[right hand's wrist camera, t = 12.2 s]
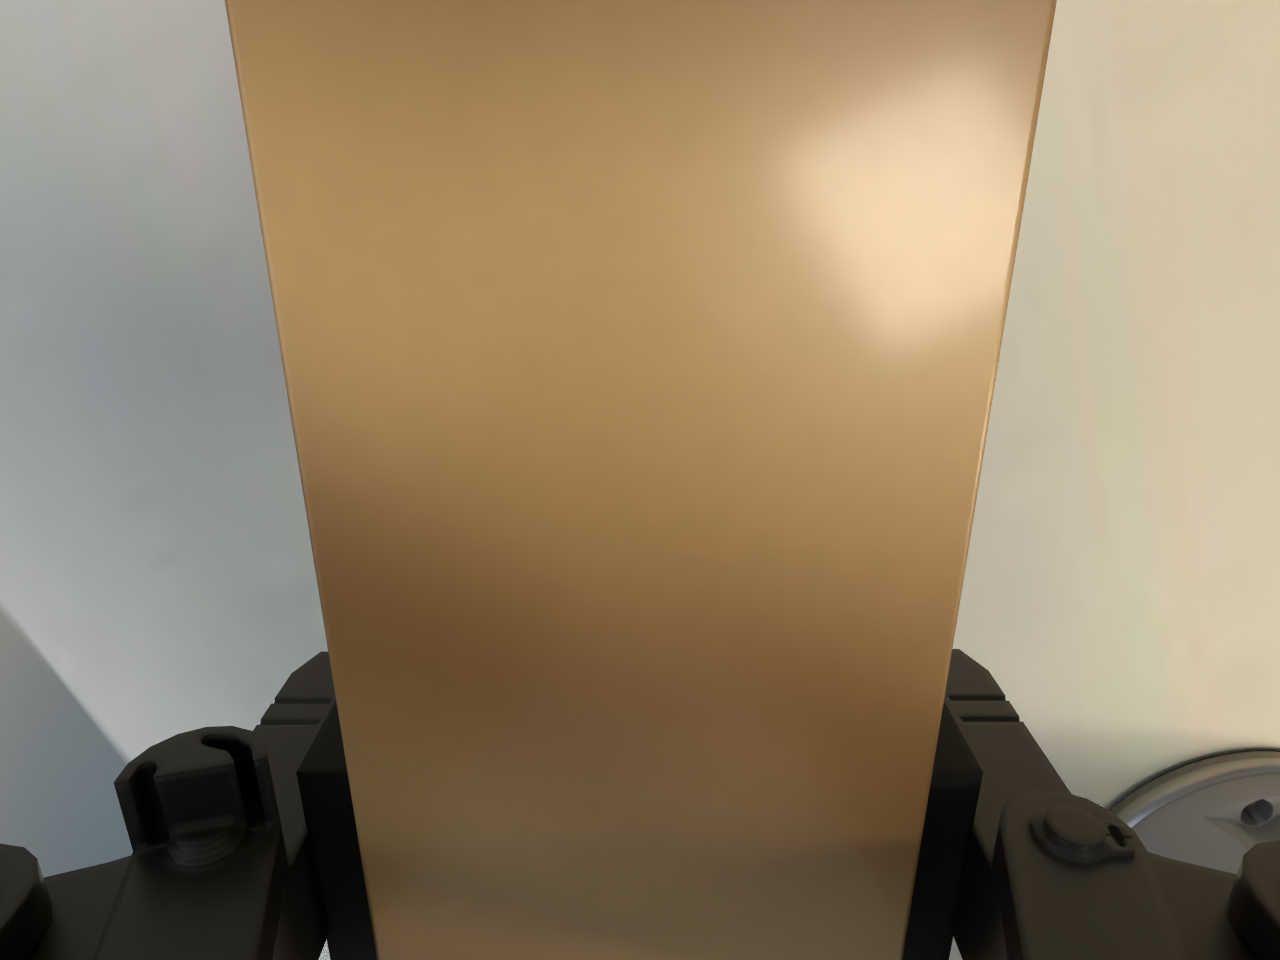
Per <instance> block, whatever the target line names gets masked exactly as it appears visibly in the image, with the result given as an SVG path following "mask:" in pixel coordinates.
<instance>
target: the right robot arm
mask: <svg viewBox="0 0 1280 960" xmlns="http://www.w3.org/2000/svg"><path fill="white" fill-rule="evenodd" d="M114 785H115V789H116V792H117V796H118V799H119V803H120V806H121V810H122V813H123V817H124V820H125V824H126V828H127V831H128V835H129V838H130V842H131V845H132V849H133V854H132V855H131V856H128V857H125V858H121V859H118V860H115V861H112V862H108V863H104V864H100V865H96V866H91V867H87V868H83V869H79V870H75V871H70V872H66V873H62V874H58V875H53V876H49V877H45V878H43V875H42V872H41V869H40V866H39V863H38V860H37V858H36V857H35V856H34V855H32V854H31V853H30V852H29V851H28V850H27V849H25V848H24V847H18V846H12V845H5V844H0V960H318V959H319V957H320V954H321V952H322V949H323V947H324V944H325V941H326V939H327V942H328V948H329V953H330V959H331V960H377V954H376V948H375V942H374V935H373V929H372V923H371V916H370V910H369V904H368V897H367V891H366V885H365V879H364V872H363V866H362V860H361V853H360V847H359V841H358V835H357V828H356V822H355V816H354V809H353V803H352V797H351V790H350V784H349V778H348V772H347V765H346V759H345V753H344V746H343V740H342V734H341V727H340V721H339V715H338V709H337V702H336V696H335V690H334V683H333V677H332V671H331V665H330V658H329V652H320V653H319V654H317V655H316V656H315V657H313V658H312V659H311V660H309V661H308V662H306V663H305V664H304V665H302V666H301V667H300V668H298V669H297V670H296V671H294V672H293V673H292V674H291V675H290V677H289V678H288V680H287V681H286V682H285V684H284V685H283V687H282V688H281V690H280V691H279V693H278V694H277V696H276V697H275V703H274V704H271V705H270V706H269V708H268V709H267V711H266V712H265V714H264V715H263V717H262V718H261V724H260V725H257V726H256V727H255V729H254V730H253V731H250V730H246V729H242V728H238V727H234V726H221V727H205V728H201V729H197V730H193V731H189V732H185V733H181V734H177V735H175V736H173V737H171V738H169V739H167V740H164V741H162V742H160V743H158V744H156V745H154V746H151V747H150V748H148V749H147V750H146V751H144V752H143V753H142V754H140V755H139V756H138V757H136V758H135V759H134V760H132V761H131V762H130V763H128V764H127V766H126V767H125V768H124V770H123V771H122V772H121V774H120V775H119V776H118V778H117V779H116V780H115V782H114ZM953 936H954V939H955V941H956V944H957V946H958V949H959V951H960V954H961V956H962V959H963V960H1280V752H1275V751H1253V752H1242V753H1234V754H1228V755H1222V756H1217V757H1213V758H1209V759H1205V760H1201V761H1198V762H1195V763H1192V764H1189V765H1186V766H1183V767H1181V768H1178V769H1176V770H1173V771H1171V772H1169V773H1167V774H1165V775H1163V776H1160V777H1158V778H1156V779H1154V780H1153V781H1151V782H1149V783H1147V784H1146V785H1144V786H1142V787H1140V788H1139V789H1137V790H1136V791H1134V792H1133V793H1131V794H1130V795H1128V796H1127V797H1126V798H1124V799H1123V800H1122V801H1121V802H1119V803H1118V804H1117V805H1116V806H1114V807H1113V808H1112V809H1111V810H1110V811H1109V810H1107V809H1105V808H1103V807H1101V806H1099V805H1097V804H1096V803H1094V802H1092V801H1090V800H1088V799H1085V798H1082V797H1078V796H1075V795H1072V794H1071V793H1070V791H1069V790H1068V788H1067V787H1066V785H1065V784H1064V782H1063V781H1062V780H1061V778H1060V777H1059V775H1058V774H1057V772H1056V771H1055V769H1054V768H1053V766H1052V765H1051V763H1050V762H1049V760H1048V759H1047V757H1046V756H1045V754H1044V753H1043V751H1042V750H1041V748H1040V747H1039V745H1038V744H1037V742H1036V741H1035V739H1034V738H1033V736H1032V735H1031V733H1030V732H1029V730H1028V729H1027V727H1026V726H1025V724H1024V723H1023V722H1020V721H1019V716H1018V714H1017V713H1016V711H1015V710H1014V708H1013V707H1012V705H1011V704H1010V702H1009V701H1006V700H1005V695H1004V693H1003V692H1002V690H1001V689H1000V687H999V686H998V684H997V683H996V681H995V680H994V678H993V677H992V675H991V674H990V672H989V671H988V670H987V669H985V668H984V667H983V666H981V665H980V664H978V663H977V662H976V661H974V660H973V659H972V658H970V657H969V656H967V655H966V654H965V653H963V652H962V651H961V650H959V649H952V653H951V659H950V666H949V672H948V678H947V684H946V690H945V697H944V703H943V709H942V715H941V721H940V728H939V734H938V740H937V746H936V753H935V759H934V765H933V771H932V777H931V784H930V790H929V796H928V802H927V808H926V815H925V821H924V827H923V833H922V840H921V846H920V852H919V858H918V864H917V871H916V877H915V883H914V889H913V895H912V902H911V908H910V914H909V920H908V927H907V933H906V939H905V945H904V951H903V958H902V960H949V956H950V950H951V945H952V939H953Z"/></svg>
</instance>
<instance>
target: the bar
mask: <svg viewBox="0 0 1280 960" xmlns="http://www.w3.org/2000/svg"><path fill="white" fill-rule="evenodd" d="M1056 1H1057V0H225V3H226V10H227V16H228V22H229V29H230V35H231V41H232V47H233V54H234V60H235V66H236V73H237V79H238V85H239V91H240V98H241V104H242V110H243V117H244V123H245V129H246V136H247V142H248V148H249V154H250V161H251V167H252V173H253V180H254V186H255V192H256V199H257V205H258V211H259V217H260V224H261V230H262V236H263V243H264V249H265V255H266V262H267V268H268V274H269V280H270V287H271V293H272V299H273V306H274V312H275V318H276V324H277V331H278V337H279V343H280V350H281V356H282V362H283V369H284V375H285V381H286V387H287V394H288V400H289V406H290V413H291V419H292V425H293V432H294V438H295V444H296V450H297V457H298V463H299V469H300V476H301V482H302V488H303V494H304V501H305V507H306V513H307V520H308V526H309V532H310V539H311V545H312V551H313V557H314V564H315V570H316V576H317V583H318V589H319V595H320V602H321V608H322V614H323V620H324V627H325V633H326V639H327V646H328V652H329V658H330V665H331V671H332V677H333V683H334V690H335V696H336V702H337V709H338V715H339V721H340V727H341V734H342V740H343V746H344V753H345V759H346V765H347V772H348V778H349V784H350V790H351V797H352V803H353V809H354V816H355V822H356V828H357V835H358V841H359V847H360V853H361V860H362V866H363V872H364V879H365V885H366V891H367V897H368V904H369V910H370V916H371V923H372V929H373V935H374V942H375V948H376V954H377V960H902V958H903V951H904V945H905V939H906V933H907V927H908V920H909V914H910V908H911V902H912V895H913V889H914V883H915V877H916V871H917V864H918V858H919V852H920V846H921V840H922V833H923V827H924V821H925V815H926V808H927V802H928V796H929V790H930V784H931V777H932V771H933V765H934V759H935V753H936V746H937V740H938V734H939V728H940V721H941V715H942V709H943V703H944V697H945V690H946V684H947V678H948V672H949V666H950V659H951V653H952V647H953V641H954V634H955V628H956V622H957V616H958V610H959V603H960V597H961V591H962V585H963V579H964V572H965V566H966V560H967V554H968V547H969V541H970V535H971V529H972V523H973V516H974V510H975V504H976V498H977V492H978V485H979V479H980V473H981V467H982V460H983V454H984V448H985V442H986V436H987V429H988V423H989V417H990V411H991V404H992V398H993V392H994V386H995V380H996V373H997V367H998V361H999V355H1000V349H1001V342H1002V336H1003V330H1004V324H1005V317H1006V311H1007V305H1008V299H1009V293H1010V286H1011V280H1012V274H1013V268H1014V262H1015V255H1016V249H1017V243H1018V237H1019V230H1020V224H1021V218H1022V212H1023V206H1024V199H1025V193H1026V187H1027V181H1028V175H1029V168H1030V162H1031V156H1032V150H1033V143H1034V137H1035V131H1036V125H1037V119H1038V112H1039V106H1040V100H1041V94H1042V88H1043V81H1044V75H1045V69H1046V63H1047V56H1048V50H1049V44H1050V38H1051V32H1052V25H1053V19H1054V13H1055V7H1056Z"/></svg>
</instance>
